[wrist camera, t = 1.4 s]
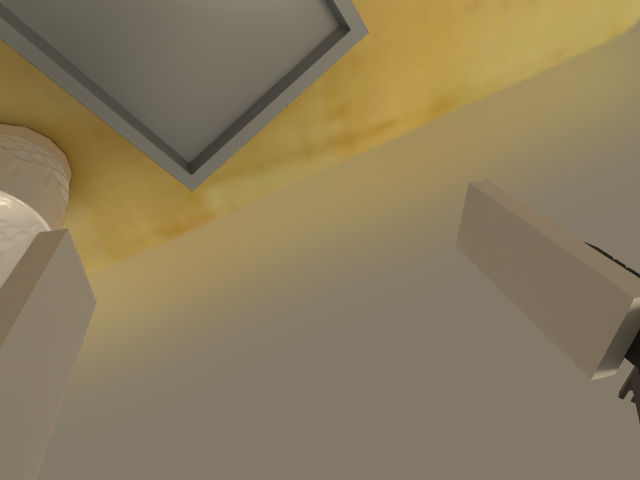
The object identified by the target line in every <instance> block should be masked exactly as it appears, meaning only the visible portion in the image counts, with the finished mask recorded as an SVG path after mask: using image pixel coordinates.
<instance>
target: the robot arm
mask: <svg viewBox="0 0 640 480" xmlns="http://www.w3.org/2000/svg"><path fill="white" fill-rule="evenodd" d="M456 247H457V248H458V250H459V251H461V253H463V254H464V255H465V256H466V257H467V258H468V259H469V260H470V261H471V262H472V263H473V264H474V265H475V266H476V267H477V268H478V269H479V270H480V271H481V272H482V273H483V274H484V275H485V276H486V277H487V278H488V279H489V280H490V281H491V282H492V283H493V284H494V285H495V286H496V287H497V288H498V289H499V290H500V291H501V292H502V293H503V294H504V295H505V296H506V297H507V298H508V299H509V300H510V301H511V302H512V303H513V304H514V305H515V306H516V307H517V308H518V309H519V310H520V311H521V312H522V313H523V314H524V315H525V316H526V317H527V318H528V319H529V320H530V321H531V322H532V323H533V324H534V325H535V326H536V327H537V328H538V329H539V330H540V331H541V332H543V334H544V335H545V336H546V337H547V338H549V340H551V342H552V343H553V344H555V345H556V346H557V347H558V348H559V349H560V350H561V351H562V352H563V353H564V354H565V355H566V356H567V357H568V358H569V359H570V360H571V361H572V362H573V363H574V364H575V365H576V366H577V367H578V368H579V369H580V370H581V371H582V372H583V373H584V374H585V375H586V376H587V377H588V378H589V379H590V380H594V379H598V378H602V377H606V376H610V375H614V374H615V373H616V371H617V370H618V368H619V366H620V364H621V363H622V361H623V359H624V358H626V359H627V360H628V361H630V362H631V363H632V364H633V365H634V366H635V367H634V368H633V370H632V372H631V373H630V375H629V377H628V378H627V380H626V381H625V383H624V385H623V386H622V388H621V390H620V392H619V398H621V399H624V398H625V396H626V395H627V393H628V391H630V390H632V391H633V393H634V396H633V398H632V400H631V402H634V403H636V407H637V412H638V416H639V421H640V274H638V273H636V272H635V271H633V270H632V269H630V268H626V266H625V265H624V264H622V263H621V262H619V261H618V260H616V259H615V260H613V257H611V256H610V255H608V254H607V253H605V252H604V251H602V250H600V249H599V248H597V247H595V246H593V245H590V244H588V243H585V242H583V241H581V240H580V239H578V238H576V237H575V236H573V235H572V234H570V233H569V232H567V231H566V230H564V229H563V228H561V227H559V226H558V225H556V224H555V223H553V222H552V221H550V220H549V219H547V218H546V217H544V216H543V215H541V214H539V213H538V212H536V211H535V210H533V209H532V208H530V207H529V206H527V205H525V204H524V203H522V202H521V201H519V200H518V199H516V198H515V197H513V196H512V195H510V194H508V193H507V192H505V191H504V190H502V189H501V188H499V187H498V186H496V185H494V184H493V183H491V182H490V181H488V180H484V181H475V182H469V184H468V189H467V194H466V198H465V203H464V208H463V213H462V218H461V222H460V227H459V232H458V237H457V242H456ZM95 304H96V299H95V297H94V294H93V291H92V289H91V287H90V284H89V281H88V279H87V276H86V274H85V271H84V268H83V266H82V263H81V261H80V258H79V256H78V253H77V251H76V248H75V245H74V243H73V240H72V238H71V235H70V233H69V230H68V229H62V230H53V231H45V232H38V234H37V235H36V237H35V238H34V240H33V241H32V243H31V244H30V246H29V247H28V249H27V250H26V252H25V253H24V254H23V256H22V257H21V259H20V260H19V262H18V263H17V265H16V266H15V268H14V269H13V271H12V272H11V273H10V275H9V276H8V278H7V279H6V281H5V282H4V284H3V285H2V287H1V288H0V480H36V477H37V474H38V471H39V468H40V465H41V462H42V460H43V457H44V454H45V451H46V448H47V445H48V442H49V439H50V436H51V433H52V430H53V427H54V425H55V422H56V419H57V416H58V413H59V410H60V407H61V404H62V401H63V398H64V395H65V392H66V389H67V386H68V383H69V380H70V378H71V375H72V372H73V369H74V366H75V363H76V360H77V357H78V354H79V351H80V348H81V345H82V342H83V339H84V336H85V334H86V331H87V328H88V325H89V321H90V319H91V316H92V313H93V310H94V307H95Z"/></svg>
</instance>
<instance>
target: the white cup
mask: <svg viewBox="0 0 640 480" xmlns="http://www.w3.org/2000/svg"><path fill="white" fill-rule="evenodd" d="M71 177H72V172H71V169H70V166H69V163H68V160H67V157H66V155H65V154H64V153H63V152H62V151H61V150H60V149H59V148H58V147H57V146H56V145H55V144H54V143H53V142H52V141H51V140H50V139H49V138H47V137H45V136H43V135H41V134H39V133H37V132H35V131H33V130H31V129H29V128H27V127H22V126H13V125H5V124H0V288H1V287H2V285H3V284H4V282H5V281H6V279H7V278H8V276H9V275H10V273H11V272H12V271H13V269H14V268H15V266H16V265H17V263H18V262H19V260H20V259H21V257H22V256H23V254H24V253H25V252H26V250H27V249H28V247H29V246H30V244H31V243H32V241H33V240H34V238H35V237H36V235H37V234H38V232H45V231H53V230H62V229H63V225H64V221H65V216H66V212H67V206H68V200H69V185H70V181H71Z"/></svg>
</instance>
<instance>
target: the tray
mask: <svg viewBox="0 0 640 480" xmlns="http://www.w3.org/2000/svg"><path fill="white" fill-rule="evenodd" d="M368 33H369V32H368V30H367V28H366V26H365V25H364V23H363V21H362V19H361V18H360V16H359V14H358V12H357V10H356V9H355V7H354V5H353V3H352V2H351V0H0V39H1V40H2V41H3V42H5V43H6V44H7V45H8V46H10V47H11V48H12V49H13V50H15V51H16V52H17V53H19V54H20V55H21V56H22V57H24V58H25V59H26V60H27V61H29V62H30V63H31V64H32V65H34V66H35V67H36V68H37V69H39V70H40V71H41V72H42V73H44V74H45V75H46V76H47V77H49V78H50V79H51V80H52V81H54V82H55V83H56V84H57V85H59V86H60V87H61V88H63V89H64V90H65V91H66V92H68V93H69V94H70V95H71V96H73V97H74V98H75V99H76V100H78V101H79V102H80V103H81V104H83V105H84V106H85V107H86V108H88V109H89V110H90V111H91V112H93V113H94V114H95V115H96V116H98V117H99V118H100V119H101V120H103V121H104V122H105V123H106V124H108V125H109V126H110V127H112V128H113V129H114V130H115V131H117V132H118V133H119V134H120V135H122V136H123V137H124V138H125V139H127V140H128V141H129V142H130V143H132V144H133V145H134V146H135V147H137V148H138V149H139V150H140V151H142V152H143V153H144V154H145V155H147V156H148V157H149V158H150V159H152V160H153V161H154V162H156V163H157V164H158V165H159V166H161V167H162V168H163V169H164V170H166V171H167V172H168V173H169V174H171V175H172V176H173V177H174V178H176V179H177V180H178V181H179V182H181V183H182V184H183V185H184V186H186V187H187V188H188V189H189V190H191V191H193V190H194V189H195V188H197V187H198V186H199V185H200V184H201V183H202V182H203V181H204V180H205V179H207V178H208V177H209V176H210V175H211V174H212V173H213V172H214V171H215V170H217V169H218V168H219V167H220V166H221V165H222V164H223V163H224V162H225V161H227V160H228V159H229V158H230V157H231V156H232V155H233V154H234V153H235V152H237V151H238V150H239V149H240V148H241V147H242V146H243V145H244V144H245V143H247V142H248V141H249V140H250V139H251V138H252V137H253V136H254V135H255V134H257V133H258V132H259V131H260V130H261V129H262V128H263V127H264V126H265V125H267V124H268V123H269V122H270V121H271V120H272V119H273V118H274V117H275V116H277V115H278V114H279V113H280V112H281V111H282V110H283V109H284V108H285V107H287V106H288V105H289V104H290V103H291V102H292V101H293V100H294V99H295V98H296V97H298V96H299V95H300V94H301V93H302V92H303V91H304V90H305V89H306V88H308V87H309V86H310V85H311V84H312V83H313V82H314V81H315V80H316V79H318V78H319V77H320V76H321V75H322V74H323V73H324V72H325V71H326V70H328V69H329V68H330V67H331V66H332V65H333V64H334V63H335V62H336V61H338V60H339V59H340V58H341V57H342V56H343V55H344V54H345V53H346V52H348V51H349V50H350V49H351V48H352V47H353V46H354V45H355V44H356V43H358V42H359V41H360V40H361V39H362V38H363V37H364V36H365V35H366V34H368Z"/></svg>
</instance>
